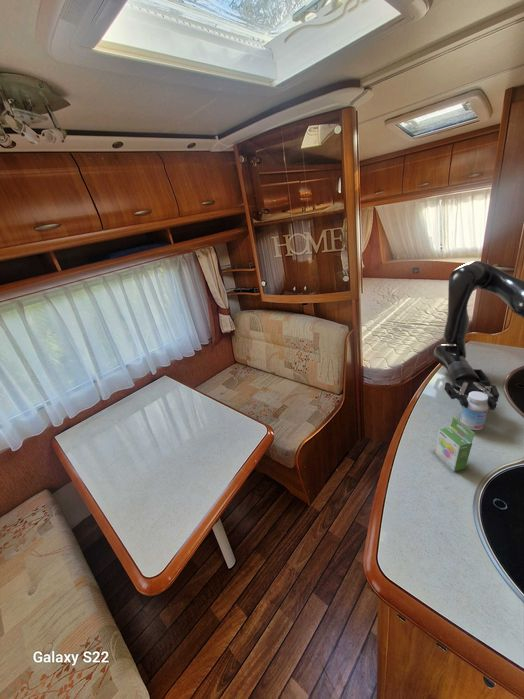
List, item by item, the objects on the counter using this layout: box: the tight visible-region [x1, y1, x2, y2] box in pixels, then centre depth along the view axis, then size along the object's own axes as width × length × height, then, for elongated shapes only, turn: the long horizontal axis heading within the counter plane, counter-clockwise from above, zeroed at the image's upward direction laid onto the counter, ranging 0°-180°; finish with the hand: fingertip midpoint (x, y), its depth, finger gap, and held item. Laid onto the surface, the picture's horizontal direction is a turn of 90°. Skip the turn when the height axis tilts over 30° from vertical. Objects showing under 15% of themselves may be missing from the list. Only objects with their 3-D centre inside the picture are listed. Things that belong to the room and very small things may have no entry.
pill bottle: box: [459, 391, 490, 431], centre depth 84 cm, size 6×6×11 cm
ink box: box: [435, 416, 476, 473], centre depth 75 cm, size 7×4×13 cm, turn 10°
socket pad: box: [473, 368, 492, 387], centre depth 107 cm, size 11×11×3 cm
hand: (480, 406), depth 81 cm, fingers closed on pill bottle, 6 cm apart
